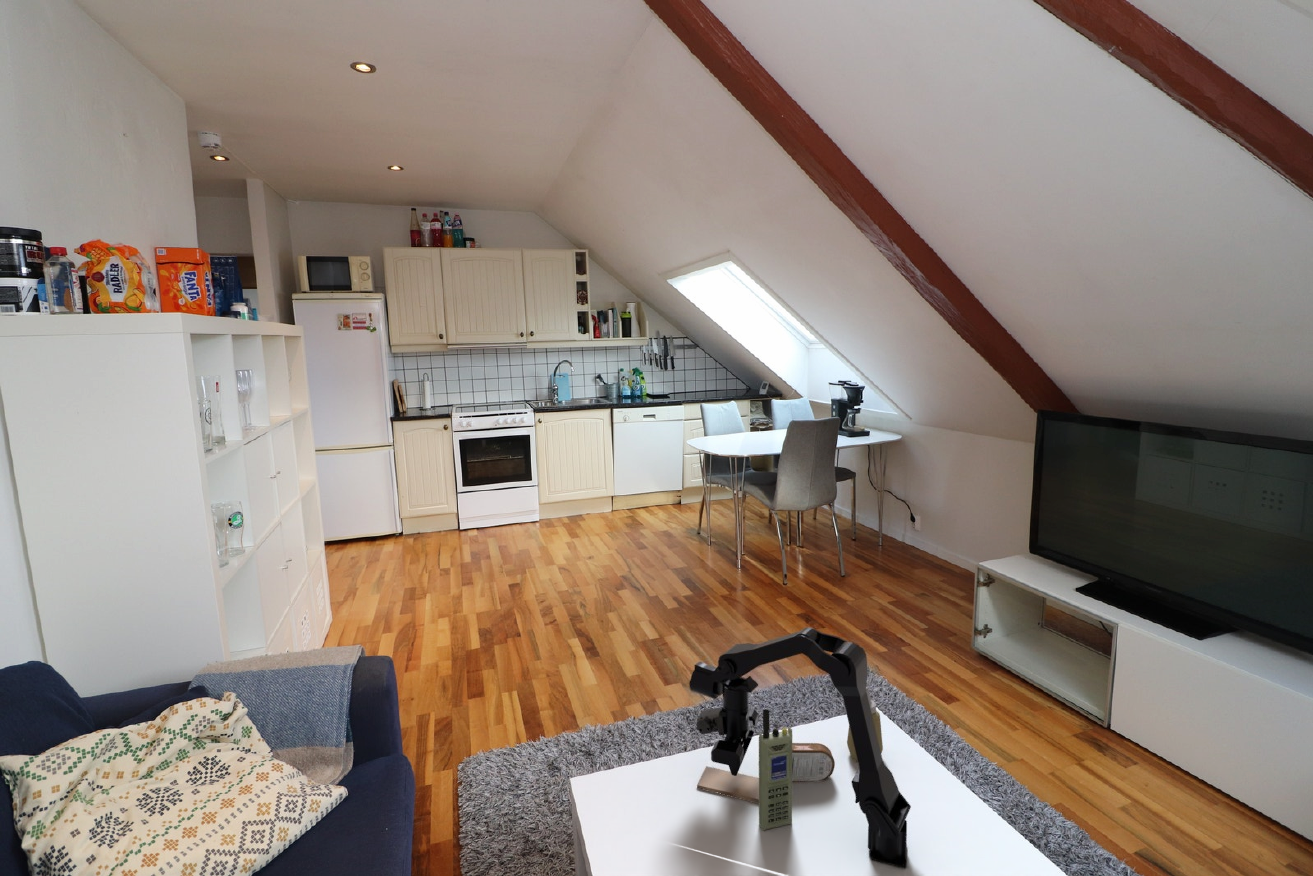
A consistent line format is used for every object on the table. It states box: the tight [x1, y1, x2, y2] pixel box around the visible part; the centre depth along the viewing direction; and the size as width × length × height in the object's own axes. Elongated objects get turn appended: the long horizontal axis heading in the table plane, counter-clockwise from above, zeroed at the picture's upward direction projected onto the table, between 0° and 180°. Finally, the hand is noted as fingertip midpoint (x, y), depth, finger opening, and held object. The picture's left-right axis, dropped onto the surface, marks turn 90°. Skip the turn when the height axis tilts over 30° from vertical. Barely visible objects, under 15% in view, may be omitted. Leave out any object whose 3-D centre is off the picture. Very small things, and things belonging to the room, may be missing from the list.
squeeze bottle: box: [846, 686, 884, 763], centre depth 148 cm, size 8×8×18 cm
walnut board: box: [696, 765, 759, 804], centre depth 140 cm, size 16×7×1 cm, turn 69°
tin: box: [792, 742, 836, 784], centre depth 141 cm, size 15×3×8 cm, turn 94°
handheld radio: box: [758, 708, 793, 831], centre depth 128 cm, size 7×3×25 cm, turn 105°
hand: (736, 770), depth 140 cm, fingers open, 3 cm apart
